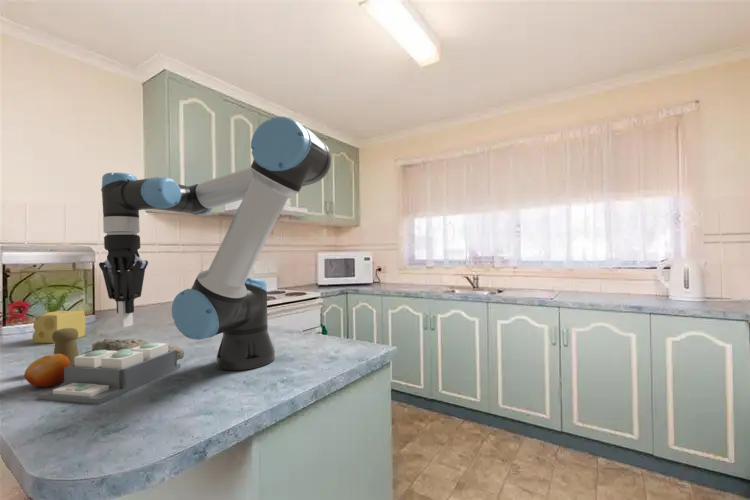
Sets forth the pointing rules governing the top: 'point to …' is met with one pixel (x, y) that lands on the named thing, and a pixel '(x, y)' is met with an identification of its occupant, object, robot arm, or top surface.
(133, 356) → the button
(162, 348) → the button
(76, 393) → the button panel
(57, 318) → the cheese
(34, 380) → the fruit
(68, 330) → the cork
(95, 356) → the button
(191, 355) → the top surface
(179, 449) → the top surface
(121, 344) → the elongated rock
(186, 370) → the top surface
